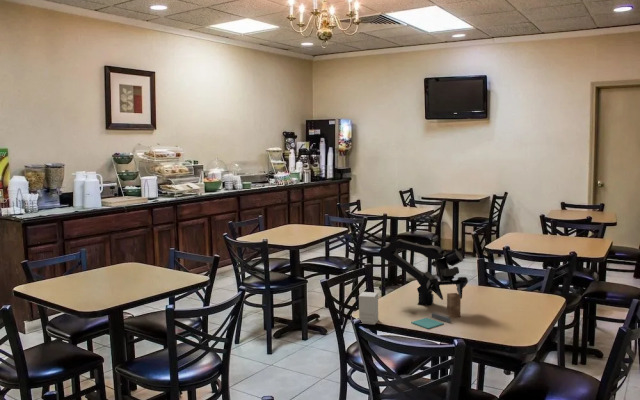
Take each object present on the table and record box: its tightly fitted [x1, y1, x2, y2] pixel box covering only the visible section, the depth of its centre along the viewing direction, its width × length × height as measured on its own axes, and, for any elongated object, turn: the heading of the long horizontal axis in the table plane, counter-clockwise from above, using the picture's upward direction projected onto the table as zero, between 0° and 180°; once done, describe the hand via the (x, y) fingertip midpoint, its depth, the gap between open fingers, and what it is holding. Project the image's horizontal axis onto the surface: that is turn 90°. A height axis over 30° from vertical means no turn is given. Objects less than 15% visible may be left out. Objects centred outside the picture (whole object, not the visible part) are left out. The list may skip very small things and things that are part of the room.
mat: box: [410, 317, 445, 330], centre depth 237 cm, size 10×10×1 cm
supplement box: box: [358, 291, 379, 325], centre depth 240 cm, size 7×7×13 cm
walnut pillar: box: [446, 292, 462, 319], centre depth 246 cm, size 5×5×10 cm
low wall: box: [431, 312, 451, 324], centre depth 242 cm, size 10×1×2 cm, turn 36°
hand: (451, 298), depth 249 cm, fingers open, 9 cm apart
